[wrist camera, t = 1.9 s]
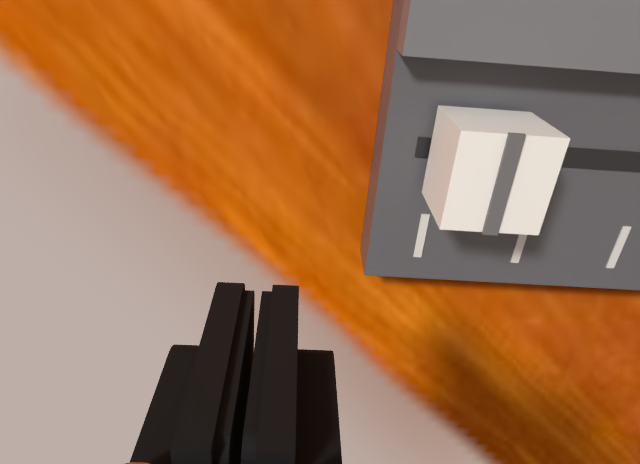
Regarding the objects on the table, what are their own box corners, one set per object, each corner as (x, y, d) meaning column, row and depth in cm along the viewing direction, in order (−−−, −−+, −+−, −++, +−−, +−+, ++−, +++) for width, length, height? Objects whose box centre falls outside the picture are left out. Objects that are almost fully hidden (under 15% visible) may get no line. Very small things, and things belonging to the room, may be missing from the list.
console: (845, 4, 22) (949, 11, 18) (703, 270, 28) (759, 313, 25) (398, -34, 21) (415, -34, 17) (360, 250, 27) (367, 292, 24)
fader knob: (531, 110, 21) (572, 138, 17) (506, 198, 23) (539, 238, 19) (438, 104, 21) (462, 130, 17) (421, 193, 22) (440, 232, 19)
